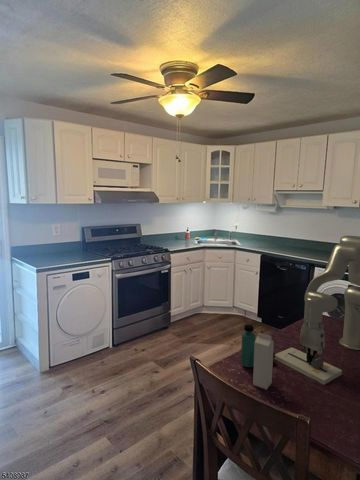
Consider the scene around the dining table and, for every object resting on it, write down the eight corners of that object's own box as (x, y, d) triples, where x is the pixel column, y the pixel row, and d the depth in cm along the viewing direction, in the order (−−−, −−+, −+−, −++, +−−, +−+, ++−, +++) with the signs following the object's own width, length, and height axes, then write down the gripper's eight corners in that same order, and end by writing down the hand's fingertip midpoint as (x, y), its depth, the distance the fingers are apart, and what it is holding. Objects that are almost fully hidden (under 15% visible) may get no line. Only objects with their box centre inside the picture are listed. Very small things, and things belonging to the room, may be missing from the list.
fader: (317, 363, 144) (317, 356, 143) (323, 366, 141) (323, 358, 141) (312, 366, 141) (312, 358, 141) (318, 369, 139) (318, 361, 138)
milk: (258, 378, 136) (260, 329, 133) (272, 383, 132) (274, 333, 130) (252, 384, 131) (254, 334, 128) (266, 390, 128) (268, 338, 125)
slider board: (291, 350, 161) (291, 346, 160) (341, 374, 139) (342, 369, 139) (273, 358, 153) (274, 354, 152) (324, 384, 132) (324, 379, 131)
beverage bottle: (255, 371, 142) (257, 329, 139) (240, 369, 143) (241, 327, 140) (254, 363, 148) (256, 323, 145) (240, 362, 149) (241, 322, 146)
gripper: (333, 327, 138) (330, 366, 140) (303, 316, 150) (300, 352, 152) (323, 331, 133) (320, 371, 136) (293, 320, 146) (291, 357, 148)
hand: (310, 361), depth 144 cm, fingers closed
